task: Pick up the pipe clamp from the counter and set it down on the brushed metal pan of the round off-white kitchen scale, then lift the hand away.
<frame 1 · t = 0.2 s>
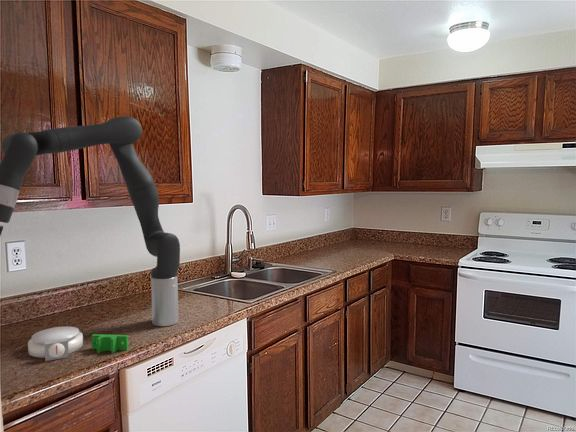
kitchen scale: (56, 347, 134), on the worktop
pipe clamp: (108, 351, 132), on the worktop
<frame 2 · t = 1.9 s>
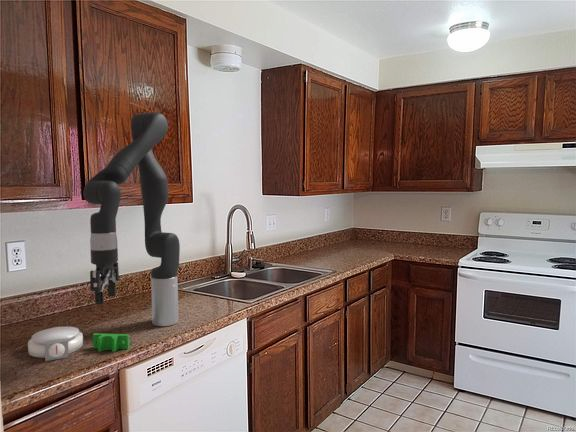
hand: (105, 300, 130), 16 cm above the worktop, tool pointing down, fingers open, 8 cm apart
nothing on the worktop moved.
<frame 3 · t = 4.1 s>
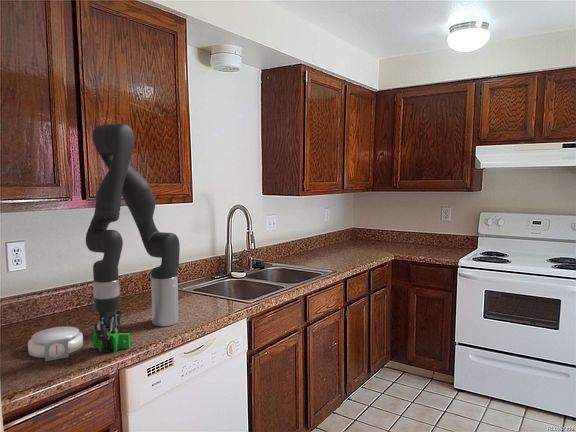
hand: (109, 348, 132), 0 cm above the worktop, tool pointing down, fingers closed on pipe clamp, 3 cm apart
pipe clamp: (110, 349, 133), on the worktop, touching gripper
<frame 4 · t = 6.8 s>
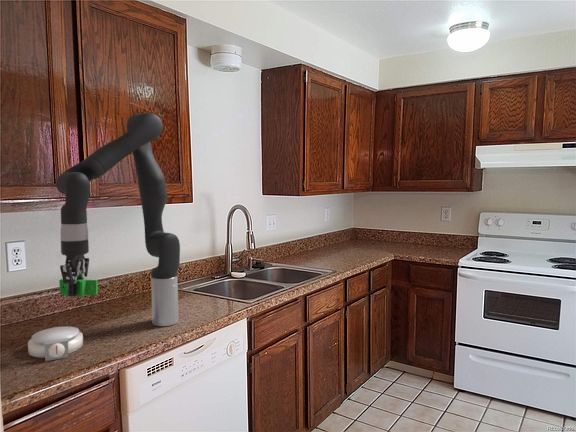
hand: (76, 293, 131), 18 cm above the worktop, tool pointing down, fingers closed on pipe clamp, 3 cm apart
pipe clamp: (76, 295, 131), point 17 cm above the worktop, touching gripper
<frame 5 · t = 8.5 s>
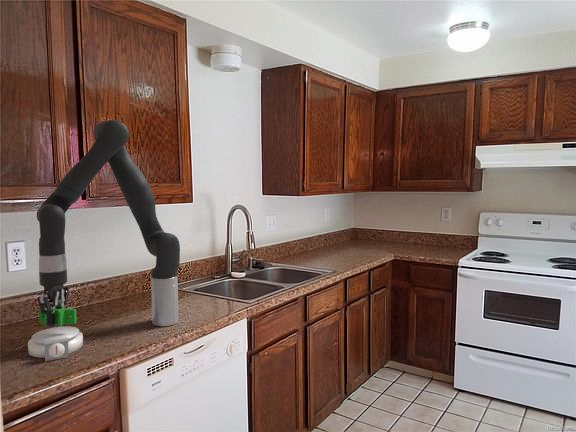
hand: (55, 323, 133), 8 cm above the worktop, tool pointing down, fingers closed on pipe clamp, 3 cm apart
pipe clamp: (55, 324, 133), point 7 cm above the worktop, touching gripper
when the fingers open (6 cm above the worktop, at t = 9.6 s): pipe clamp stays where it is, resting on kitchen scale.
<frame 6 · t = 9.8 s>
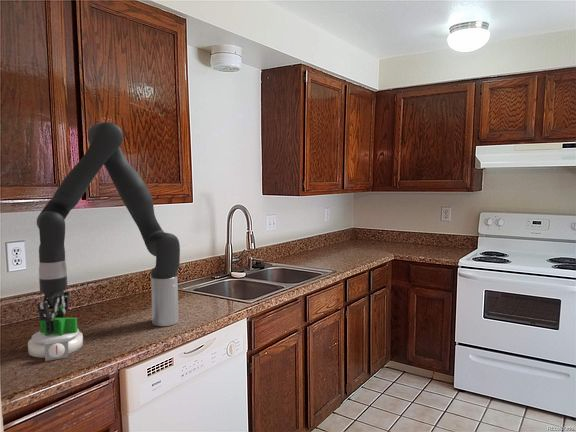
hand: (55, 328, 133), 6 cm above the worktop, tool pointing down, fingers open, 5 cm apart
pipe clamp: (56, 334, 134), point 4 cm above the worktop, touching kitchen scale
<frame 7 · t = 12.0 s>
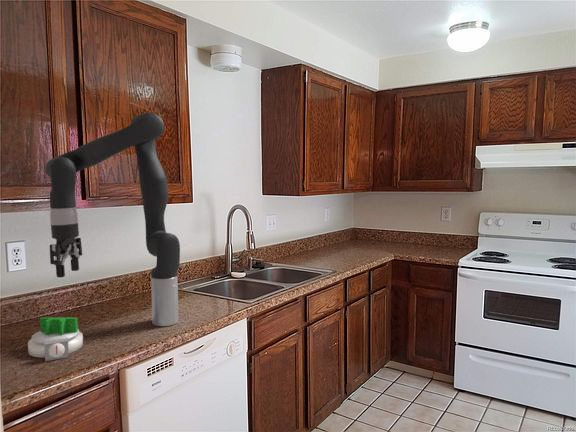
hand: (68, 273, 134), 23 cm above the worktop, tool pointing down, fingers open, 8 cm apart
nothing on the worktop moved.
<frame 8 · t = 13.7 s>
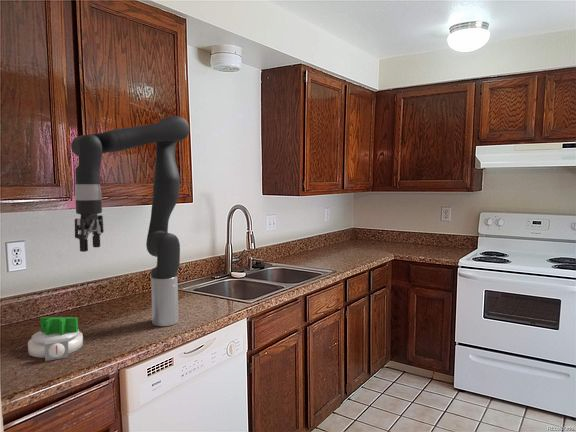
hand: (90, 249, 137), 30 cm above the worktop, tool pointing down, fingers open, 8 cm apart
nothing on the worktop moved.
at the end: pipe clamp inside the target area on the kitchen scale (0.7 cm from its centre), point 4.3 cm above the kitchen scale's base; the gripper is holding nothing; pipe clamp touching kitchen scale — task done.
